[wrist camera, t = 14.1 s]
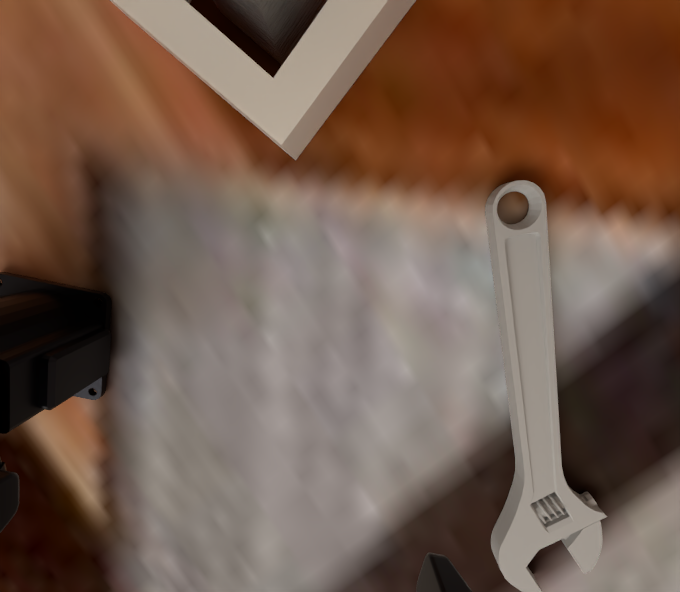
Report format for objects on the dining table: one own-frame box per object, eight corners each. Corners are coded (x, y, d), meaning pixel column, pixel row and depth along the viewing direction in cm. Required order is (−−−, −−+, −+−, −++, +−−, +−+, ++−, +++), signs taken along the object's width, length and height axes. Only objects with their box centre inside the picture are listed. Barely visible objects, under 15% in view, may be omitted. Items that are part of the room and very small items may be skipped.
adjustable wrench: (477, 186, 19) (490, 183, 17) (600, 172, 19) (626, 167, 17) (489, 570, 24) (500, 597, 22) (587, 563, 24) (605, 590, 22)
